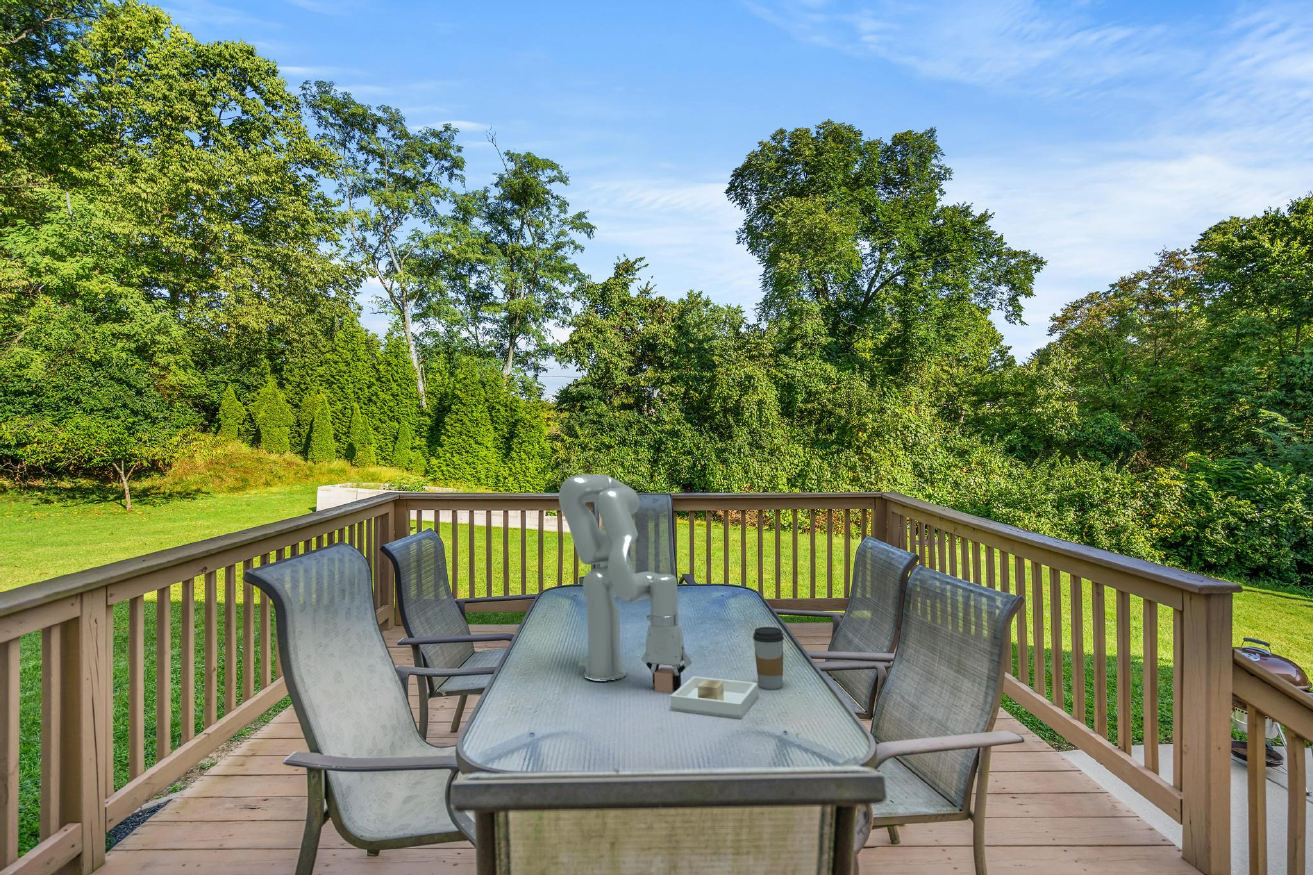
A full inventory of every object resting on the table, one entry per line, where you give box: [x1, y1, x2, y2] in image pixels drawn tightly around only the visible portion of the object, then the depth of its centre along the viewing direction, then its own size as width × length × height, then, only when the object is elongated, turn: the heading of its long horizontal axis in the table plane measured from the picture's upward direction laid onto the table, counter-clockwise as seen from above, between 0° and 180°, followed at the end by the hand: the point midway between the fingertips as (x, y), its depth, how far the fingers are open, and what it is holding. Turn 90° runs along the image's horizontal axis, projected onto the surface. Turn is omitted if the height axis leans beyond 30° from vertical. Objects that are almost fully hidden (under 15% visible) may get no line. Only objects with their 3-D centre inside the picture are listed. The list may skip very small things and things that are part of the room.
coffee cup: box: [752, 626, 785, 691], centre depth 171 cm, size 8×8×15 cm
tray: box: [669, 675, 759, 720], centre depth 159 cm, size 18×16×4 cm
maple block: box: [698, 680, 724, 701], centre depth 156 cm, size 5×5×5 cm
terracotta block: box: [654, 666, 675, 694], centre depth 171 cm, size 5×5×5 cm
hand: (667, 687), depth 171 cm, fingers closed on terracotta block, 5 cm apart
